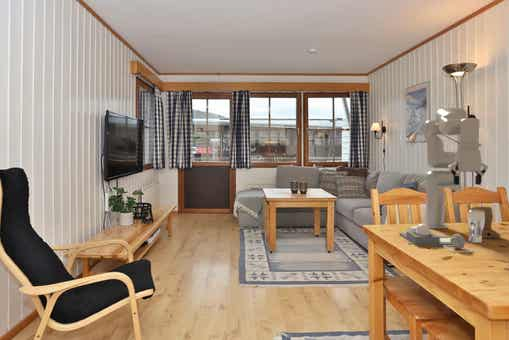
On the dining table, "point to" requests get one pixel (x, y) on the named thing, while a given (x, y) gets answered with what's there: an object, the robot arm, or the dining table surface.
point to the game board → (429, 239)
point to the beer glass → (476, 225)
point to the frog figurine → (457, 241)
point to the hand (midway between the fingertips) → (467, 184)
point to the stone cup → (487, 223)
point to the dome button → (422, 230)
